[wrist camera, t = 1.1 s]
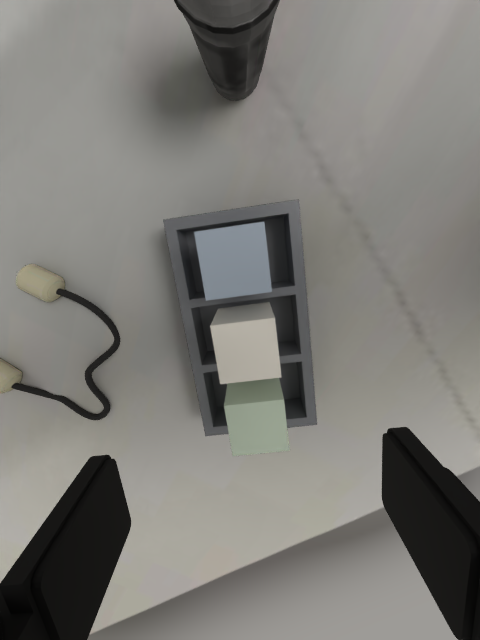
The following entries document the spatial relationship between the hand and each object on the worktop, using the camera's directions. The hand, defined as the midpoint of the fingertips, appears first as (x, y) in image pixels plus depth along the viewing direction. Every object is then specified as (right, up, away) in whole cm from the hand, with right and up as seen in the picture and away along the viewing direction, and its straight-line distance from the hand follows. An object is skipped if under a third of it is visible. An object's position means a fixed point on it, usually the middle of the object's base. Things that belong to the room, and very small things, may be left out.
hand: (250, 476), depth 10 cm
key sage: (+1, -2, +20) cm, 20 cm away
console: (0, +6, +23) cm, 24 cm away
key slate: (-1, +11, +17) cm, 20 cm away
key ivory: (0, +4, +19) cm, 19 cm away
